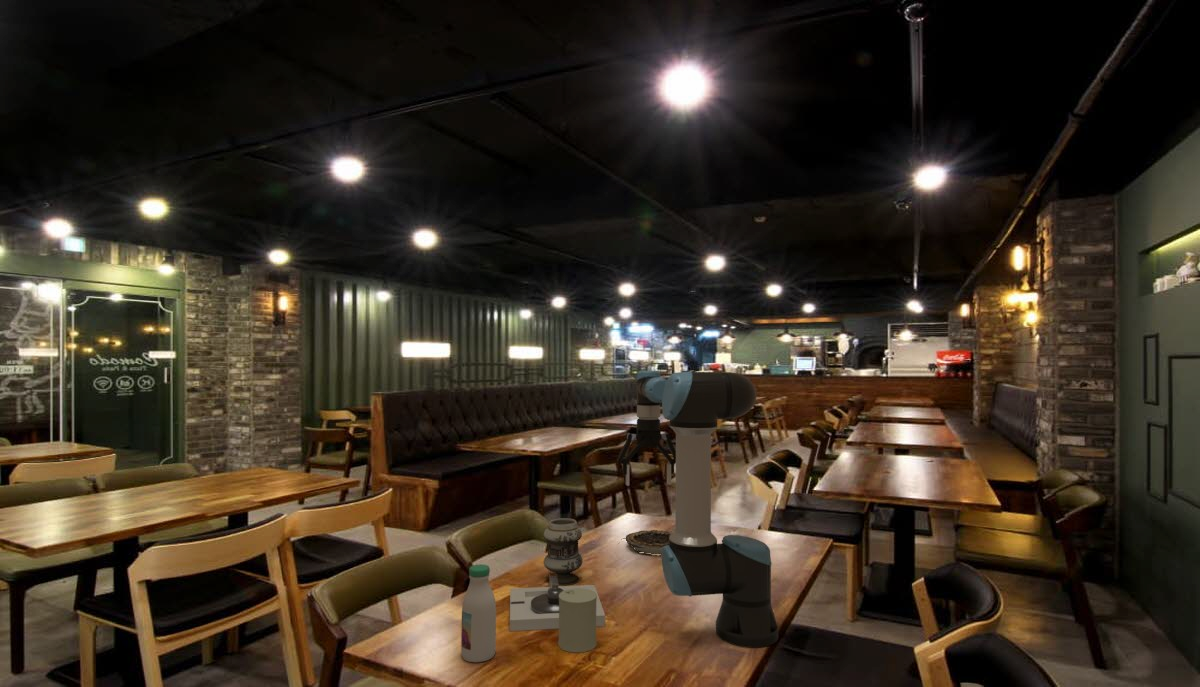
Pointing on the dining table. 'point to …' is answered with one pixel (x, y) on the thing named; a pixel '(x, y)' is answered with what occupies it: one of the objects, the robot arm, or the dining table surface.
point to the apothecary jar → (563, 550)
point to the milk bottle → (478, 617)
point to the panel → (530, 620)
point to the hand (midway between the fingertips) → (648, 484)
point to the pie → (648, 540)
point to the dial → (548, 598)
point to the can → (577, 620)
